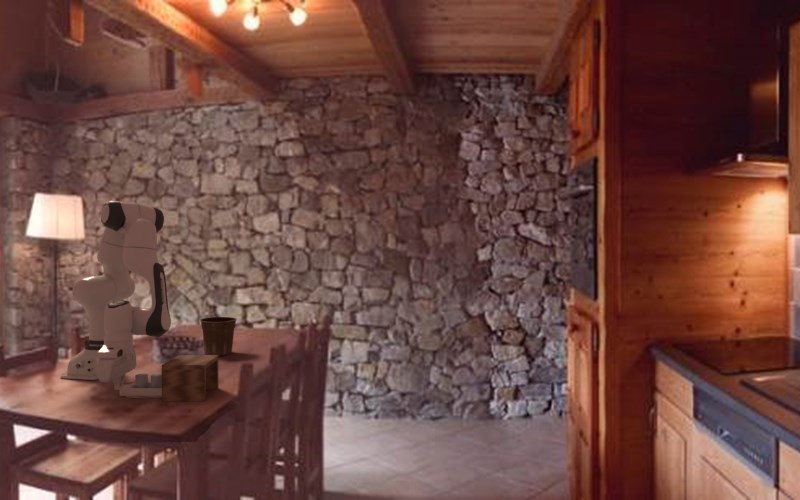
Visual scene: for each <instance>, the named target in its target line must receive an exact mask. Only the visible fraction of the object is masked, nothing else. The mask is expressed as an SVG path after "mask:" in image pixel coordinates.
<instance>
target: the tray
mask: <svg viewBox="0 0 800 500" xmlns="http://www.w3.org/2000/svg"><path fill="white" fill-rule="evenodd" d="M134 377H135V379H134V384H124V383H123V385H122V386H120V389H119V397H126V399H162V373H153V374H151V375H150V382H149V374H148V373H138V374H135V376H134Z"/></svg>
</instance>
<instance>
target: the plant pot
mask: <svg viewBox="0 0 800 500" xmlns="http://www.w3.org/2000/svg"><path fill="white" fill-rule="evenodd" d="M199 321H200V324H201V326H200V327H201V329H202V338H203V353H205V354H204V355H218V357H223V356H228V355H231V354H232V353H233V344H234V343H233V342H234V336H235V335H234V334H235V328H236V322H237V321H238V320H237V318H236V317H231V316H230V317H229V316H212V317H204V318H201V319H199Z"/></svg>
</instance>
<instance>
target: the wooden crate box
mask: <svg viewBox="0 0 800 500" xmlns="http://www.w3.org/2000/svg"><path fill="white" fill-rule="evenodd" d="M161 374H162V398H161V402H205V401H206V400H207V390H218V389H220V388H219V385H220V384H219V379H220V377H219V356H218V355H205V354H178V355H177V356H175V357H173V358H172V359H169V360H168V361H166V362H164V363H163V364H161Z"/></svg>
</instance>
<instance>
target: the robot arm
mask: <svg viewBox="0 0 800 500" xmlns="http://www.w3.org/2000/svg"><path fill="white" fill-rule="evenodd" d="M100 221H101V224H102V225H103V226H104V227H105V228H104V230H103V232H102V233H103V234H102V236H101V239H100V244H99V246H98V247H99V248H98V251H97V255H96V257H97V261H98V262H99V264H101V265H102V267H103V272H102V274H101V275H93V276H86V277H83V278H81V279H78V280H76V282H74V284H73V287H72V290H71V292H72V297H73V298H74V300H75V302H76V303H78V304H79V305H81V307H82V308H83V310H84V312H85V313H86V316H87V320H88V336H89V337H88V338H89V339H87V340H85V341H83V342H82V346H84V349H83V350H81V351H80V352H79V353H77V354H76V355H74V356H73V357H72V358H71V359H69V362H68V364H67V370H66V371H64V372H62V373H61V374H60V378H61V379H69V380H85V381H87V380H89V381H96V380H99V382H100V383H110V382H112V383H113V389H114V390H115V391H117V390H118V391H120V386H122V385H123V384H124V382H125V380H126V379H125V378H126V375H127V374H128V373H130V372H132V371H134V370H136V367H137V354H136V353H137V352H136V350H135V349H134V346H133V344H134V342H133V340H134V339H133V338H134V337H133V336H148V337H155V338H160V337H163V335H165V334H166V333H167V332H168V331H169V329H170V328H171V324H172V321H171V319H172V318H171V314H170V310H169V302H168V293H167V280H166V273H165V272H166V271H165V268H164V266H163V265H162V264H161V263H160V261H159V260H158V256H157V255H158V254H157V252H158V251H157V249H158V235H157V233H159V232H160V231H161V230H162V229H163V226H164V223H165V215H164V212H163V211H162V210H161V209H159V208H158V207H155V206H149V205H144V204H143V203H142V204H141V203H137V202H136V203H135V202H127V201H126V202H125V201H119V200H108V201H106V203H104V205H103V206H102V209H101V212H100ZM129 271H130V272H132V273H133V274H134V275H135V274H136V275H138V276H140V277H142V278H144V279H145V280H146V281H147V282H148V284H149V286H150V297H151V308H150V307H148V308H145V307H136V306H133V305H132V304H131V302H130V301H129V300H127V299H129V298H131V297H132V296H133V295H134V293H135V290H136V285H135V281H134V280H133V278H132V277H131V276H130V272H129Z"/></svg>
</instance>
